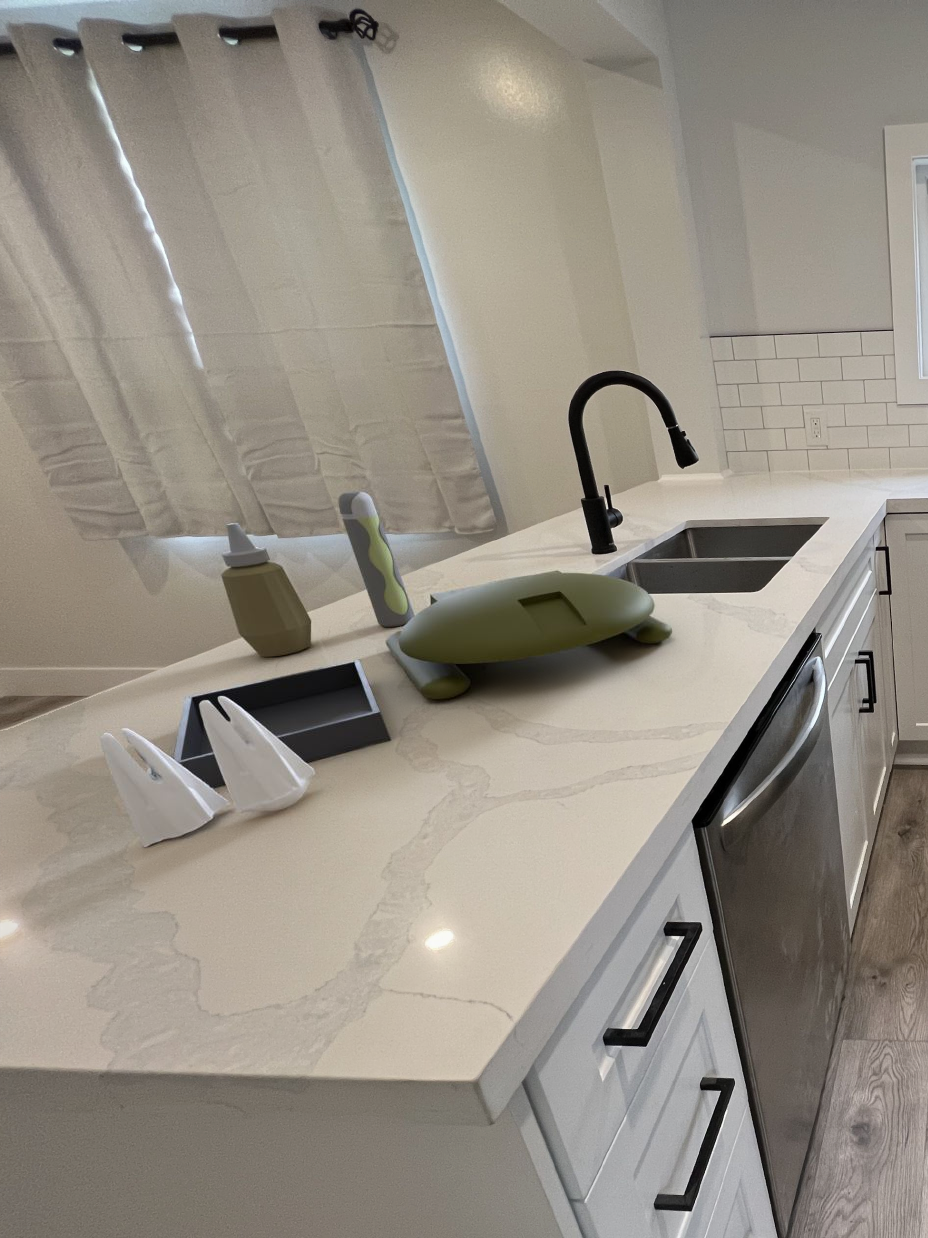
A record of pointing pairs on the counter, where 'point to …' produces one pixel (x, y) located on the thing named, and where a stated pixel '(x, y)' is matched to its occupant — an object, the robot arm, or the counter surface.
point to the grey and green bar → (375, 559)
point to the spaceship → (518, 624)
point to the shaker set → (184, 802)
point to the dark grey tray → (290, 716)
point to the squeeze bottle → (263, 599)
